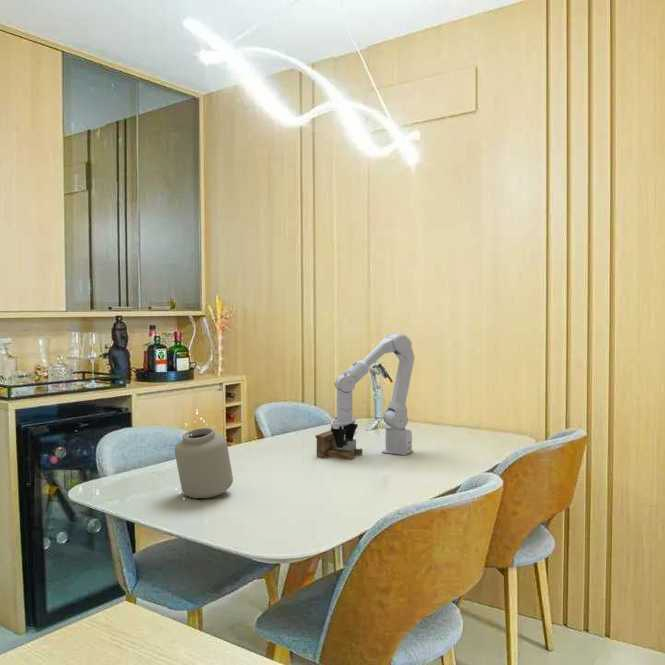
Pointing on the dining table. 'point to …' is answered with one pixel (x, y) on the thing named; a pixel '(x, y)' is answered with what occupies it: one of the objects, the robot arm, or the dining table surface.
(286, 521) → the dining table surface
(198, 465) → the jar
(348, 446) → the grey rectangular block
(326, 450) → the brown panel with bars
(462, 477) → the dining table surface
